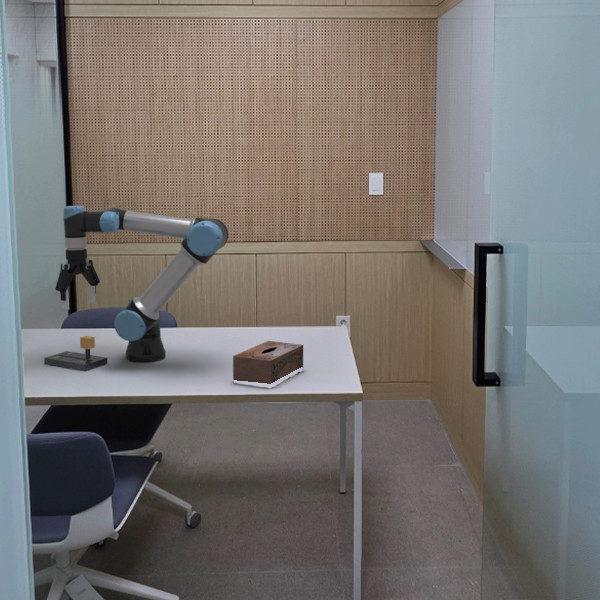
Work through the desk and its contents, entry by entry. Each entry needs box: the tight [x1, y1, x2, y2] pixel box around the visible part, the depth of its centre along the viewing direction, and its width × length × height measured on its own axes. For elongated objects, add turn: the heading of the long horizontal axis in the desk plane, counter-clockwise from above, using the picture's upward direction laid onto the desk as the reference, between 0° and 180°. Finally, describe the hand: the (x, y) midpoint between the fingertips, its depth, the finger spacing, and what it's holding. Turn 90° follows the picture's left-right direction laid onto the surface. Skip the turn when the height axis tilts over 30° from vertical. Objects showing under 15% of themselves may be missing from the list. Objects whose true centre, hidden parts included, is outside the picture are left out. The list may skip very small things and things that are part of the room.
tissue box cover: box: [232, 340, 304, 384], centre depth 318 cm, size 26×14×10 cm, turn 154°
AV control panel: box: [43, 350, 108, 372], centre depth 334 cm, size 20×12×3 cm, turn 61°
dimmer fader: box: [79, 335, 96, 359], centre depth 330 cm, size 4×3×8 cm
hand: (79, 306), depth 330 cm, fingers open, 13 cm apart
